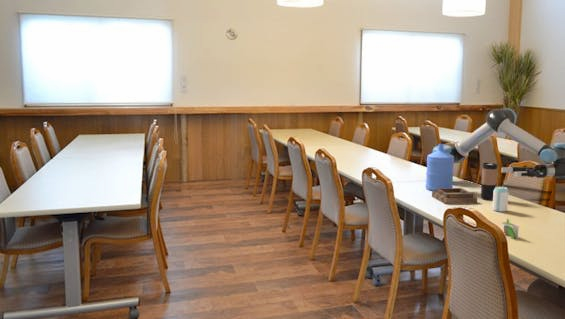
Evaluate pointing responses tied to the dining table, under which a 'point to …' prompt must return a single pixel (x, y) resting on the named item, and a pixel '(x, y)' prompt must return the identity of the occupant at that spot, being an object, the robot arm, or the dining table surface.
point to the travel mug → (488, 180)
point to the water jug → (439, 170)
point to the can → (500, 199)
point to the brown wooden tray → (454, 196)
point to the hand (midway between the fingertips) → (508, 172)
